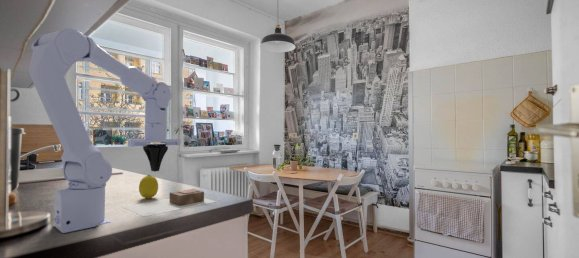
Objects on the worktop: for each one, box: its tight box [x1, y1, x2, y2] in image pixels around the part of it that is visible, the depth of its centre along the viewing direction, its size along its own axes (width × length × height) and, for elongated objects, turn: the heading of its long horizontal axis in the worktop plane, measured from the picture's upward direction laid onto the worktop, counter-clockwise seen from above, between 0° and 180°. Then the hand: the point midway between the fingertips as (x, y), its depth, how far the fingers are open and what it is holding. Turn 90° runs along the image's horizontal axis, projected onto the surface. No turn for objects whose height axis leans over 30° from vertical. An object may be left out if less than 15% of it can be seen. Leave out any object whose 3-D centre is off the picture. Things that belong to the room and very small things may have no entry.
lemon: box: [138, 174, 159, 200], centre depth 95 cm, size 6×6×8 cm
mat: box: [121, 197, 217, 217], centre depth 88 cm, size 22×14×1 cm, turn 140°
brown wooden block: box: [169, 188, 205, 206], centre depth 91 cm, size 3×6×8 cm
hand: (155, 170), depth 87 cm, fingers closed
